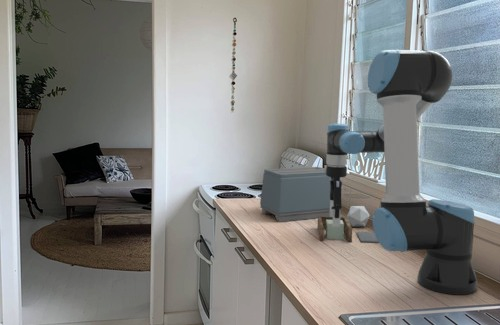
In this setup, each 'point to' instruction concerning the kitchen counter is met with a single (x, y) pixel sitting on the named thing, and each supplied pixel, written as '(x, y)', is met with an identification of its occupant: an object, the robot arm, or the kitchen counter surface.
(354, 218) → the die
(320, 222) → the brown u-shaped bracket
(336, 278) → the kitchen counter surface
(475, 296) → the kitchen counter surface
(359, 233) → the mat
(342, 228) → the block
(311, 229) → the kitchen counter surface
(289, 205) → the toaster
